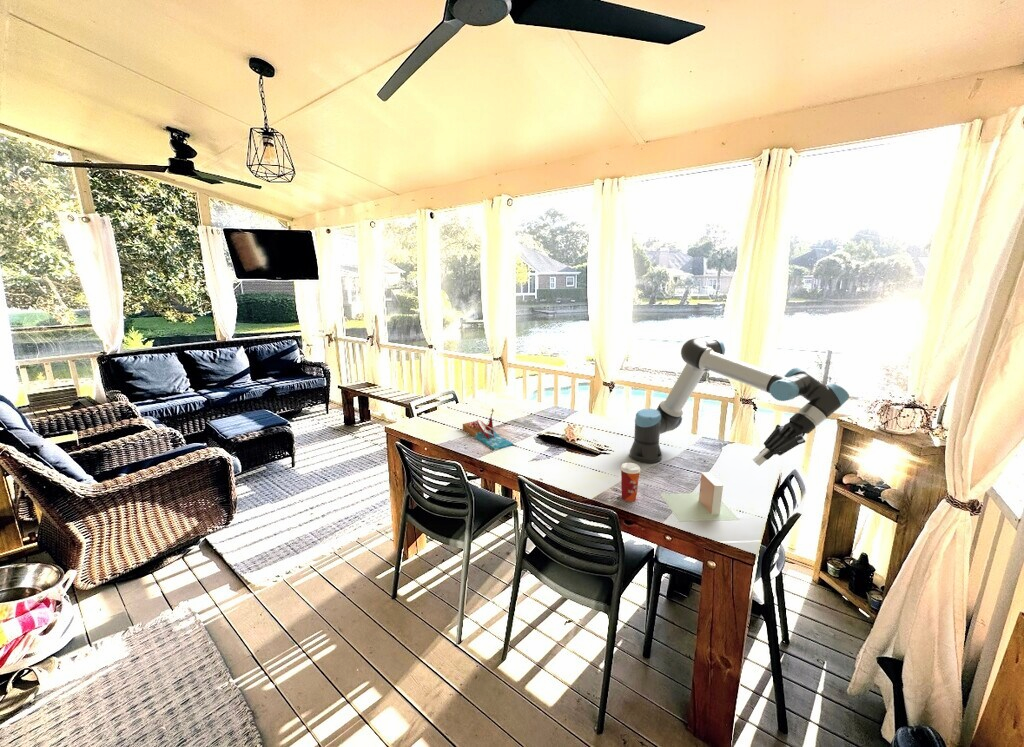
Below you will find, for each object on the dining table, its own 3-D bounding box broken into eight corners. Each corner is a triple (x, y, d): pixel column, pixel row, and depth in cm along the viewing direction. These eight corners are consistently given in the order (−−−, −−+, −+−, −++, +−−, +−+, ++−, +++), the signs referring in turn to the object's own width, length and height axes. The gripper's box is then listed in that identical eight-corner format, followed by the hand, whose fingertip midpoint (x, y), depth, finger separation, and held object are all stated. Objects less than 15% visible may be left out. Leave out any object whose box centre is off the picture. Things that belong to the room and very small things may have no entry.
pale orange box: (698, 500, 157) (700, 472, 155) (706, 500, 157) (709, 472, 155) (711, 514, 147) (714, 485, 145) (719, 514, 148) (723, 485, 145)
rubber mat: (659, 495, 162) (659, 493, 162) (712, 494, 163) (712, 492, 163) (679, 522, 144) (679, 521, 144) (739, 521, 144) (739, 519, 144)
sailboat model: (494, 451, 208) (494, 420, 205) (462, 431, 239) (461, 403, 235) (513, 446, 215) (513, 416, 211) (479, 427, 245) (479, 400, 242)
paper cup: (633, 505, 155) (635, 472, 152) (615, 498, 160) (617, 466, 157) (642, 497, 161) (644, 465, 158) (624, 491, 166) (626, 460, 163)
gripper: (826, 432, 139) (773, 477, 143) (799, 420, 152) (751, 461, 155) (814, 418, 138) (760, 464, 141) (788, 407, 151) (739, 449, 154)
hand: (755, 462), depth 148 cm, fingers closed
